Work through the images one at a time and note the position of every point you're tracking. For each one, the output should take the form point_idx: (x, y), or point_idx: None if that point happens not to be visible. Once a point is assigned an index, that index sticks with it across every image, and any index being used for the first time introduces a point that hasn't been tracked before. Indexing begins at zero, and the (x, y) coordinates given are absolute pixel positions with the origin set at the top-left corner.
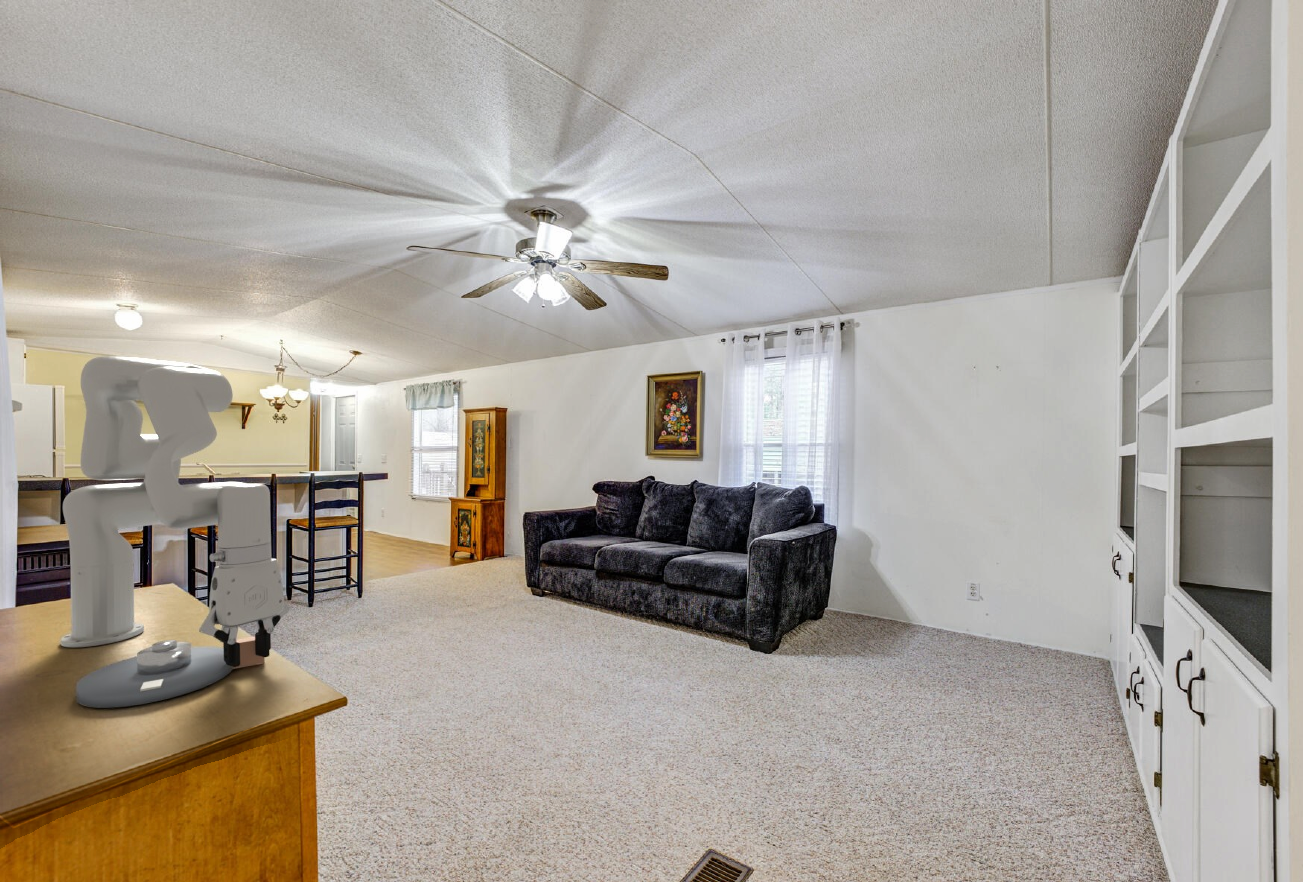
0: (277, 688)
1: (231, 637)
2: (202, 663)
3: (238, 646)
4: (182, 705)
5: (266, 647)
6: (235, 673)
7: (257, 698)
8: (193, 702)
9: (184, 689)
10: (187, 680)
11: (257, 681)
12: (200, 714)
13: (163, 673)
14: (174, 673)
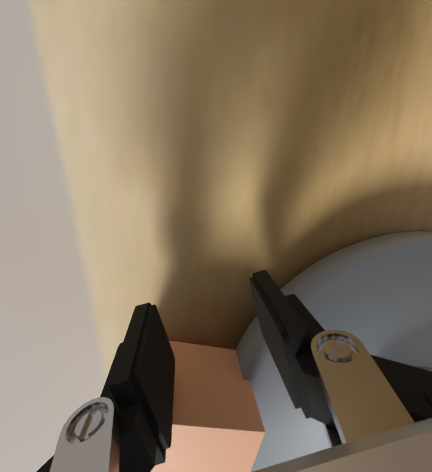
0: (161, 81)
1: (354, 366)
2: None
3: (285, 317)
4: (397, 179)
5: (140, 327)
6: (227, 333)
7: (239, 34)
8: (373, 179)
9: (398, 238)
10: (413, 247)
11: (197, 214)
12: (397, 48)
13: (423, 367)
14: (407, 346)
